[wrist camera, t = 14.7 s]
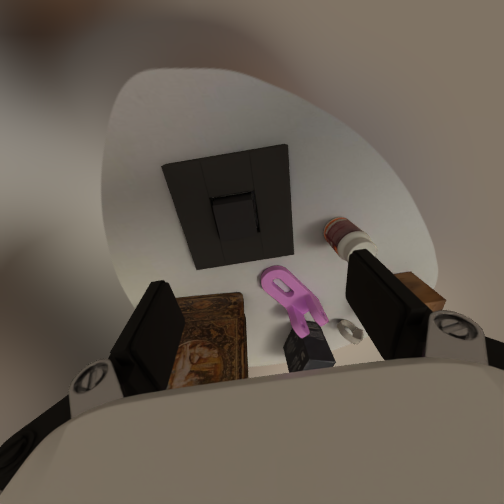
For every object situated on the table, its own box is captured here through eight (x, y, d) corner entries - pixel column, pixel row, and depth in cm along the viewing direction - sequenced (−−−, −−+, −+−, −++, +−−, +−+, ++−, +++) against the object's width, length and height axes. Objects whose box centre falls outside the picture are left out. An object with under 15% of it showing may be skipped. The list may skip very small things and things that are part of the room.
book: (165, 319, 43) (92, 510, 21) (157, 299, 40) (64, 495, 19) (245, 312, 43) (254, 492, 22) (243, 291, 41) (250, 474, 19)
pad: (250, 191, 31) (252, 199, 28) (255, 225, 34) (257, 235, 31) (214, 197, 31) (212, 206, 28) (222, 230, 34) (221, 241, 31)
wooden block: (410, 271, 41) (446, 300, 34) (402, 301, 45) (432, 333, 38) (369, 277, 41) (396, 307, 34) (364, 307, 45) (388, 339, 38)
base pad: (284, 143, 28) (287, 144, 27) (291, 248, 37) (294, 254, 35) (165, 164, 29) (160, 166, 27) (198, 263, 37) (196, 270, 35)
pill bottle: (317, 235, 36) (337, 262, 28) (334, 211, 34) (361, 233, 26) (338, 246, 37) (363, 274, 30) (356, 224, 35) (388, 248, 28)
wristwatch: (348, 329, 48) (360, 348, 44) (331, 322, 47) (341, 342, 42) (357, 320, 47) (369, 340, 43) (340, 314, 45) (351, 333, 41)
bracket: (318, 298, 43) (331, 325, 37) (296, 313, 44) (305, 341, 38) (277, 260, 38) (285, 284, 32) (254, 278, 39) (257, 304, 33)
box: (304, 349, 51) (317, 391, 42) (282, 346, 50) (291, 389, 41) (319, 321, 46) (337, 363, 38) (295, 318, 45) (308, 360, 37)
